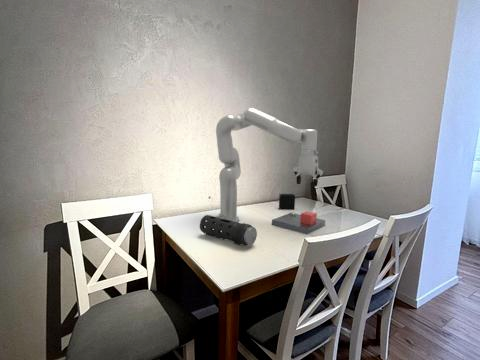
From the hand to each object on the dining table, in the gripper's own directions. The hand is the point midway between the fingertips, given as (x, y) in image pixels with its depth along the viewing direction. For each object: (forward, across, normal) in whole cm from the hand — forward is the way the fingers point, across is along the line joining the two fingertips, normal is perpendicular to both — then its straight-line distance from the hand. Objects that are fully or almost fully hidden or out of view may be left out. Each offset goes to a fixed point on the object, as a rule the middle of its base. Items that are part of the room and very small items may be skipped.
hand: (306, 185), depth 156 cm
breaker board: (+23, +4, -1) cm, 24 cm away
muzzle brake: (+24, +16, +44) cm, 52 cm away
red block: (+20, -2, -1) cm, 20 cm away
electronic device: (+24, +28, -26) cm, 45 cm away
